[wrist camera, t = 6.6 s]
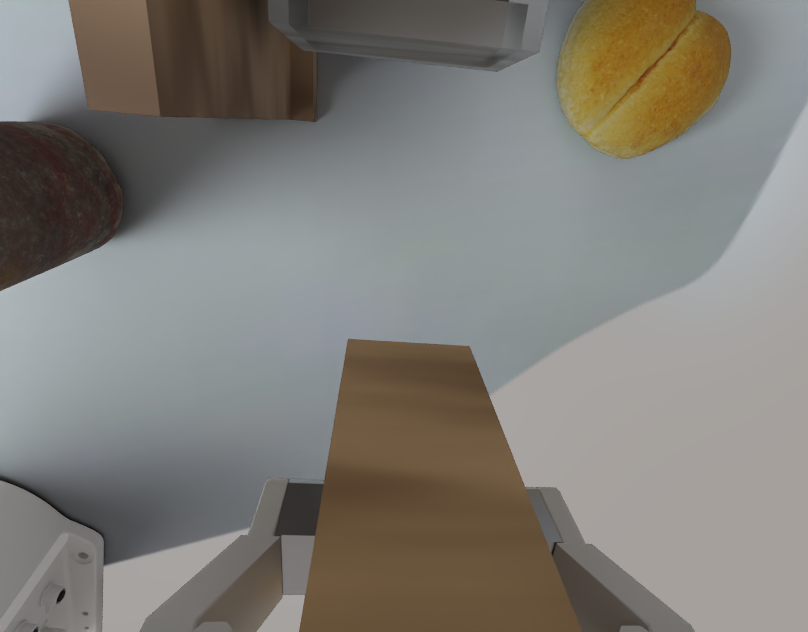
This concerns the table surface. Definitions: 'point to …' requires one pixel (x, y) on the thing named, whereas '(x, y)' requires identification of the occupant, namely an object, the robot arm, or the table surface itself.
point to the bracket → (278, 48)
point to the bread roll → (640, 72)
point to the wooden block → (426, 506)
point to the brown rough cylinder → (51, 199)
